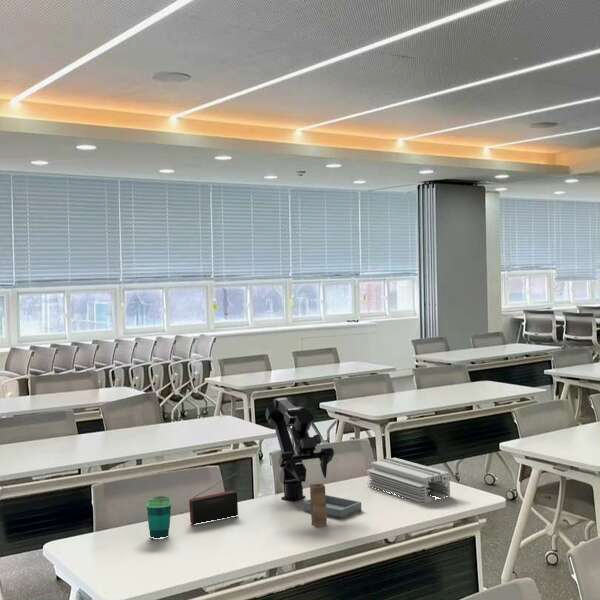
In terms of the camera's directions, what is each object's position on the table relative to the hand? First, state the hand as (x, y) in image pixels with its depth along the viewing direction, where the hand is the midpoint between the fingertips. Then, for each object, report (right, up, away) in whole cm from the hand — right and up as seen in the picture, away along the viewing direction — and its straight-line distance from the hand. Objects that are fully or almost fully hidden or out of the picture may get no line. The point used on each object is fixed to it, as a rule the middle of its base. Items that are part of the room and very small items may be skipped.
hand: (312, 479), depth 266 cm
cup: (-49, -16, -12) cm, 53 cm away
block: (+2, -13, -7) cm, 15 cm away
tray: (+7, -12, +7) cm, 16 cm away
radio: (-32, -15, +3) cm, 36 cm away
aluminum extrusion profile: (+36, -11, +26) cm, 46 cm away
